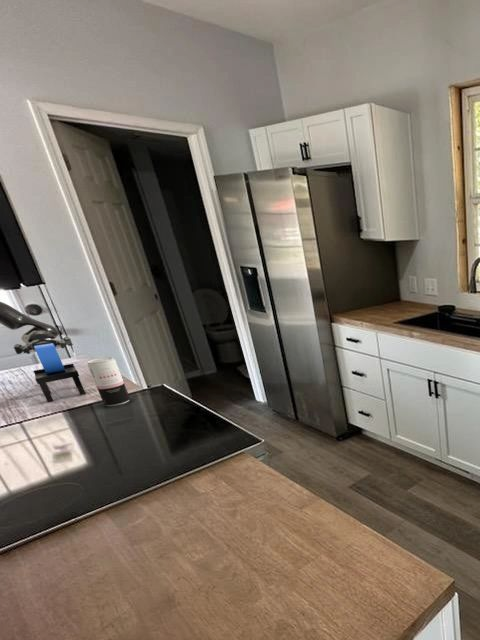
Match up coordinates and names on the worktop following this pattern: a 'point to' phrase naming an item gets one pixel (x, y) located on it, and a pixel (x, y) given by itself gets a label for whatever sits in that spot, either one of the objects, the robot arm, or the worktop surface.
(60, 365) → the tape roll
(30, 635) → the worktop surface
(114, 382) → the beverage can
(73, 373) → the tape rack
